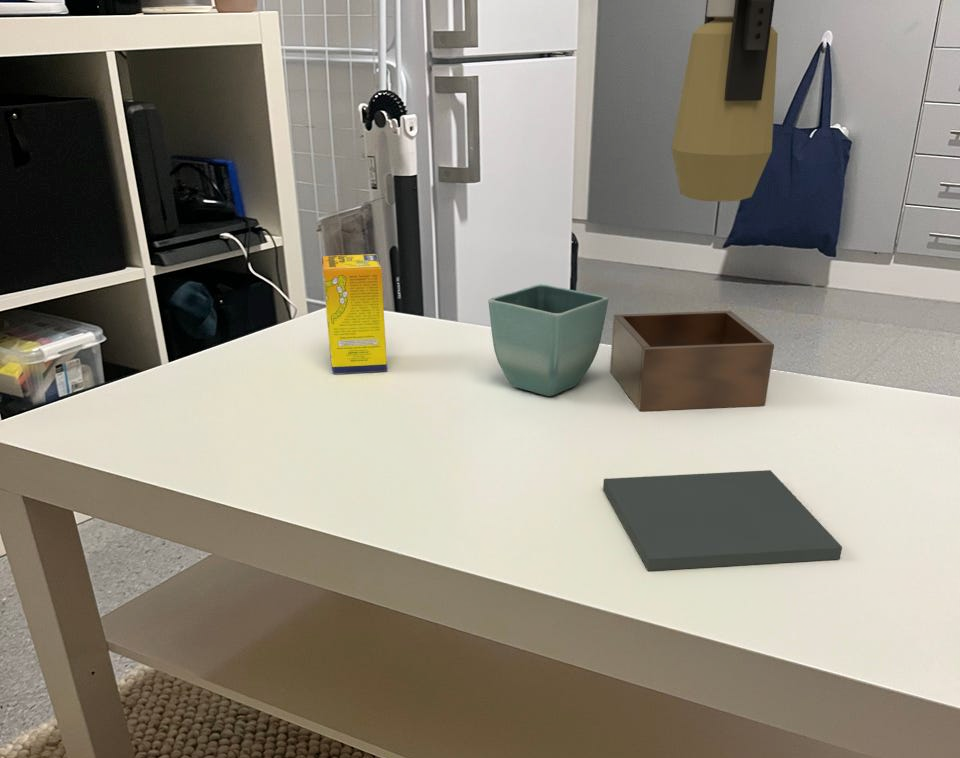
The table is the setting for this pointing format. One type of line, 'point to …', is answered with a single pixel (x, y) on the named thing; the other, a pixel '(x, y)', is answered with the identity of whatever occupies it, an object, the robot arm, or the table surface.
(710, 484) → the mat
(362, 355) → the supplement box
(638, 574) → the table surface
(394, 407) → the table surface
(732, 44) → the robot arm
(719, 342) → the box
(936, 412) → the table surface
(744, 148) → the squeeze bottle
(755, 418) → the table surface
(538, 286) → the flower pot
